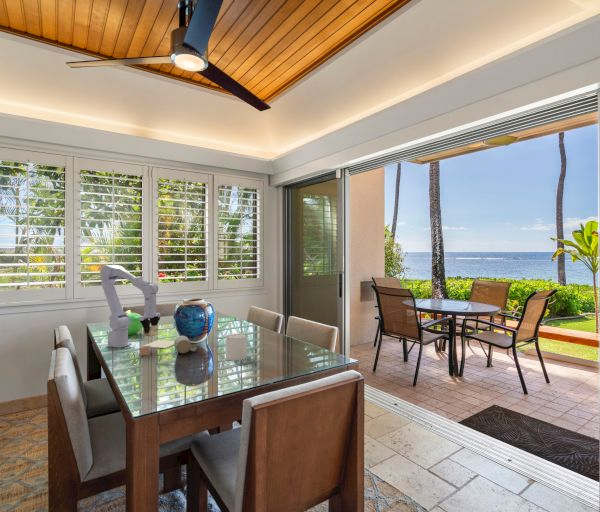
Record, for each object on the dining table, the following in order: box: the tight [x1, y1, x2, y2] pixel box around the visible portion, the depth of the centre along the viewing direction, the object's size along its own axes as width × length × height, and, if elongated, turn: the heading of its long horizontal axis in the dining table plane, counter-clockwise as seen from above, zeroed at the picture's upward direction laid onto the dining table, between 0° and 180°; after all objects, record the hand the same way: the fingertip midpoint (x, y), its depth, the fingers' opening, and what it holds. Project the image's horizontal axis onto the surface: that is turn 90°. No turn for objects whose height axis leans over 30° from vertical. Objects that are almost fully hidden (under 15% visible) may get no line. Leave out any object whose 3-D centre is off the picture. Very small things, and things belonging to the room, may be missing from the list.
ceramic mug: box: [173, 335, 197, 354], centre depth 186 cm, size 11×8×8 cm
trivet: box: [142, 339, 175, 350], centre depth 200 cm, size 14×14×1 cm
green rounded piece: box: [125, 309, 143, 336], centre depth 222 cm, size 18×17×15 cm
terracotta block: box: [139, 345, 152, 357], centre depth 180 cm, size 4×4×4 cm
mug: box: [225, 333, 248, 362], centre depth 178 cm, size 14×10×11 cm
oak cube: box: [142, 324, 159, 338], centre depth 193 cm, size 5×5×5 cm
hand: (150, 331), depth 193 cm, fingers closed on oak cube, 5 cm apart
